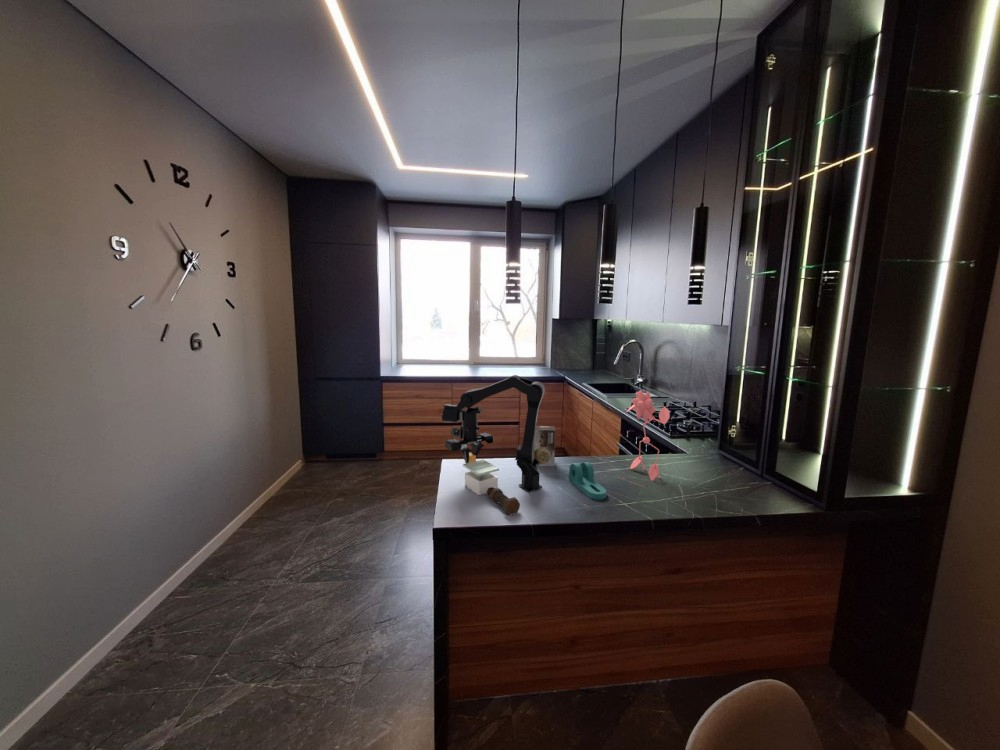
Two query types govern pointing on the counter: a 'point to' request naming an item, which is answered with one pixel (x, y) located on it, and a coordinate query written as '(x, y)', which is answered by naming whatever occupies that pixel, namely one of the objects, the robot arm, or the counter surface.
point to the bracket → (586, 480)
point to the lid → (479, 466)
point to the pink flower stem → (645, 410)
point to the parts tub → (480, 482)
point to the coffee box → (545, 445)
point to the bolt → (504, 500)
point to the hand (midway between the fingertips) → (469, 462)
